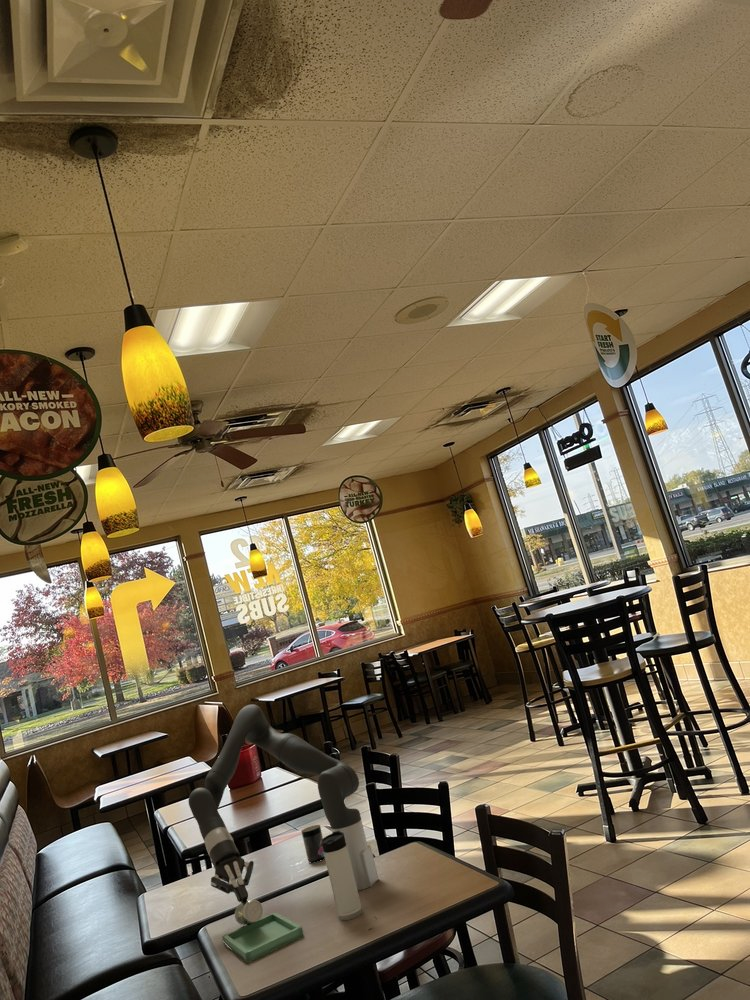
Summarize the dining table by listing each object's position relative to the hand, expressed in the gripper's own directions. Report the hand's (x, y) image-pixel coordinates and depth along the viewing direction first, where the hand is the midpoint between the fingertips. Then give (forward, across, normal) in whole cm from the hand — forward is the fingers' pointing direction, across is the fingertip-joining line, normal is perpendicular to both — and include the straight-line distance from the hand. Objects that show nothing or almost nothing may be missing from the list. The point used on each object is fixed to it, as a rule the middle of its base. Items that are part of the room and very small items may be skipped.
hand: (244, 900), depth 195 cm
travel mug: (+20, -21, +7) cm, 30 cm away
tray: (+12, 0, -1) cm, 12 cm away
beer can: (-1, 0, -7) cm, 7 cm away
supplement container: (-24, -38, -37) cm, 58 cm away
